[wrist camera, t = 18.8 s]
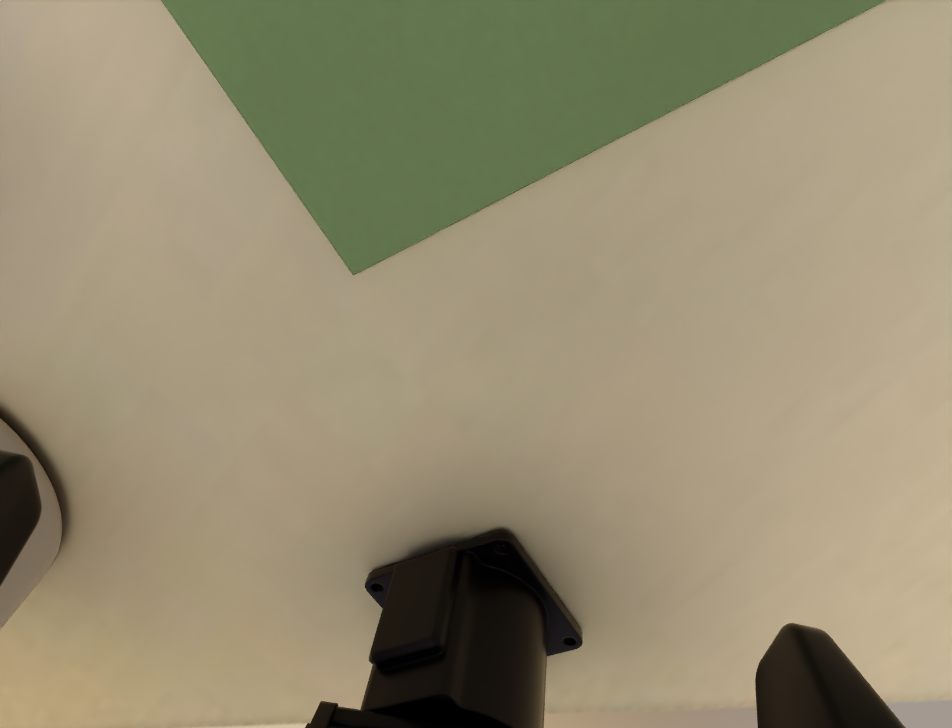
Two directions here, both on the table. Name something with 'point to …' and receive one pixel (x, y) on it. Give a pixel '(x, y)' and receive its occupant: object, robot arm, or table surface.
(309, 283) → the table surface
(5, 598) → the cylinder vase
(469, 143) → the green cloth
